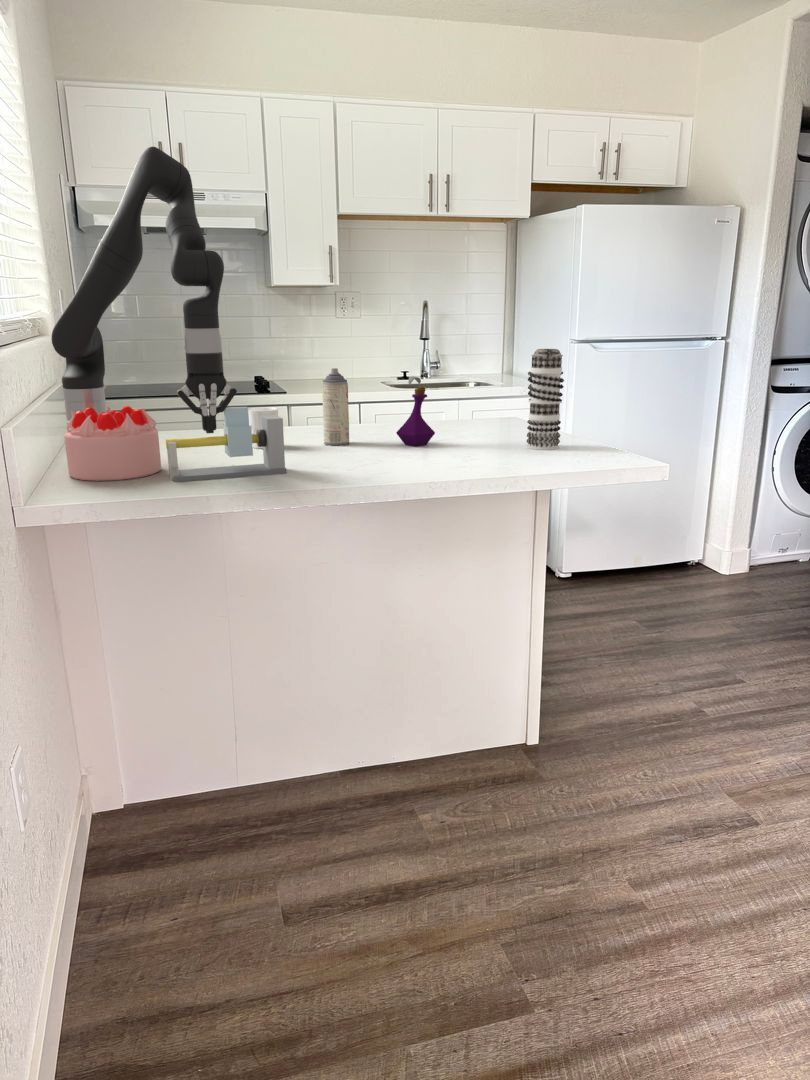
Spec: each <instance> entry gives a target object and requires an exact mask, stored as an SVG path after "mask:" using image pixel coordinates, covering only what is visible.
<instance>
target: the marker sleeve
mask: <svg viewBox="0 0 810 1080" xmlns="http://www.w3.org/2000/svg"><path fill="white" fill-rule="evenodd" d="M248 409H249V407H248V406H234V407H232V406H230V407H226V409H225V410H224V411H223V418H224V423H222V426H223V427H222V428H223V429H222V430H223V436H227V440H228V445H224V454H226V455H227V456H228V457H229V458H239V457H249V456H250V457H251V456H252V457H253V456H254V453H253V452H254V451H253V449H254V448H253V447H252V431H251V426H250V425H249V413H248Z"/></svg>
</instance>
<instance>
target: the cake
mask: <svg viewBox="0 0 810 1080" xmlns="http://www.w3.org/2000/svg"><path fill="white" fill-rule="evenodd" d="M106 410H107V413H106V412H102V413H100V415H98V413H97V412H96V410H95V409H93V408H87V409H86V410H85V411H84V412H82V411H79V412H77V413H76V414H75V413H73V412H72V410H71V414H72V418H71V420H70V421H69V422H68V424H67V423H66V432H65V434H64V437H63V438H64V447H65V456H66V461H67V470H68V474H69V476H70V477H71V478H73V479H75V480H81V481H89V482H90V481H92V482H93V481H95V482H107V481H108V482H109V481H111V482H112V481H123V480H131V479H132V480H133V479H139V478H143V477H148V476H151V475H155V474H157V473H158V472H160V470H161V469H162V462H161V461H162V460H161V450H160V449H161V448H160V437H159V431H158V429H157V427H156V425H157V421H156V420H154V418H153V417H151V416H150V415H149V414H148V413H147V411H146V410H145V408H144V407H143V408H142V409H138V408H136V409H133V408H132V407H131V406H129V405H125V406H123V407H121V410H120V411H116V410H114V409H111V407H109V406H106Z"/></svg>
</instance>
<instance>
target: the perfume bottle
mask: <svg viewBox="0 0 810 1080" xmlns="http://www.w3.org/2000/svg"><path fill="white" fill-rule="evenodd" d="M414 380H415V381H416V382H417V383H418V386H419V387H417V388H415V389H414V394H412V396H411V397H412V398H413V399H414V404H413V408H412V411H411V413H410V415H409V417H408V418H407V420H406V421H405V422H404V423H403V424H402V425H401V427H400V428H399V429H397V431H396V435H397V436H398V437H399V439H400V440H401V441H402V443H403V444H404V445H405V446H409V447H410V446H411V447H415V448H416V447H421V446H426V445H428V444H429V442H430V440H431V439H432V438H433V436H435V434H436V432H435V431H434V429H432V427H430V425H428V423H427V422H426V421H425V420H424V418H423V416H422V411H421V410H422V404H423V402H424V400H425V399H426V398H428V394H426V393H425V392H426V387H425V386H423V387H422V386H421V382H422V381H421V378H420V377H417V376H410V377H408V382H407V383H408V385H409V386H411V385H412V383H413V381H414Z"/></svg>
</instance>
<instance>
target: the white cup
mask: <svg viewBox="0 0 810 1080" xmlns="http://www.w3.org/2000/svg"><path fill="white" fill-rule="evenodd" d="M248 413H249V425H250V426H251V431H252V434H256V431H257V430H262V420H261V416H272V415H277V416H279V408H278V407H269V406H267V407H262V406H261V407H253V408H248ZM252 447H253V449H258V450H259V449H260V450H263V447H258V445H257V443H252Z"/></svg>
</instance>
